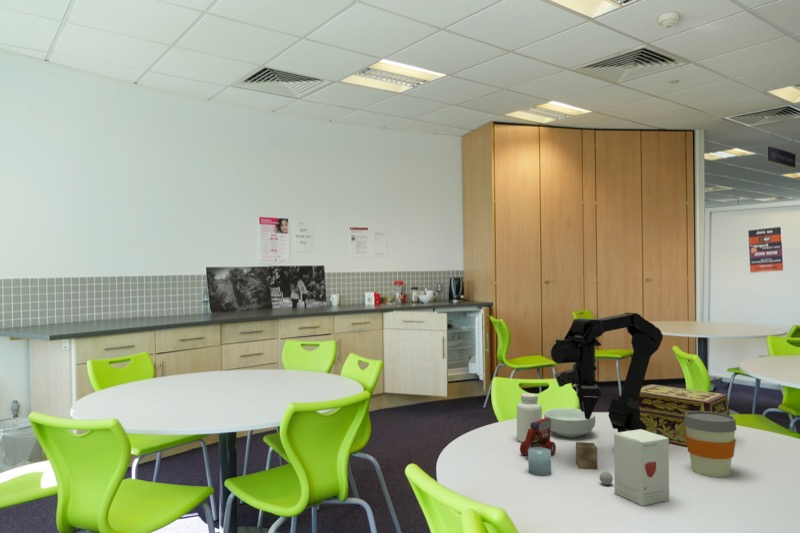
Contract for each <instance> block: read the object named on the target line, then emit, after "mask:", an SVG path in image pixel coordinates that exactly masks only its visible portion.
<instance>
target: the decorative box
mask: <svg viewBox="0 0 800 533" xmlns="http://www.w3.org/2000/svg"><path fill="white" fill-rule="evenodd" d="M638 404H639V408H640V417H639V418H640V419H641V420H642V422H643V423H644V424H645V425H646V426H647V428H646V431H648V432H651V433H654V434H658V435H661V436H664V437H667V438H669V444H670V445H674V446H679V447H683V448H687V442H686V436H685V434H686V433H687V432H686V426H685V425H684V419H685V413H686V412H690V411H710V412H718V413H723V414H727V415H730V408H729V400H728V394H725V393H719V392H712V391H711V392H710V391H703V390H697V389H688V388H683V387H682V388H681V387H674V386H667V385H666V386H665V385H660V384H659V385H658V384H652V383H651V384H647V385H644V386H643V385H642V388H641V391H640V395H639V398H638ZM730 416H731V415H730Z"/></svg>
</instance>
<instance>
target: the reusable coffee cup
mask: <svg viewBox="0 0 800 533" xmlns="http://www.w3.org/2000/svg"><path fill="white" fill-rule="evenodd" d="M684 425H685V426H686V432H687V433H686V434H685V436H686V442H687V447H686V449H687V452H688V453H689V457H690V463H691V469H692V471H693V472H694V473H696V474H700V475H702V476H706V477H710V478H711V477H712V478H725V477H729V475H730V474H731V465H732V458H734V455H735V448H736V447H735V446H736V441H737V440H736V438H735V434H736V431H737V424H736V418H735V416H733V415H727V414H723V413H718V412H710V411H690V412H686V413H685V419H684Z"/></svg>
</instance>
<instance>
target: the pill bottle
mask: <svg viewBox="0 0 800 533" xmlns="http://www.w3.org/2000/svg"><path fill="white" fill-rule="evenodd" d="M542 413H543V408H542V405H541V404H540V403H539V402H538V394H536V393H531V392H530V393H529V392H523V393H521V394H520V402H518V403H517V405H516V440H517V441H518V442H520V443H522V442H523V441H525V439H526V435H527V432H528V429H530V428H531V427H530V424H531V423H532V422H536V421H539V420H541V419H543V414H542Z"/></svg>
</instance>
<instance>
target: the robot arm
mask: <svg viewBox="0 0 800 533" xmlns="http://www.w3.org/2000/svg"><path fill="white" fill-rule="evenodd" d="M625 328H626V331H627V333H628V334H629V335H630V336H631V347H632V350H633V353H632V356H631V359H630V363H629V367H628V370H627V373H626V377H625V380H624V384H623V387H622V391H621V394H620V395H619V396H618V397H617V398H612V399H611V400H610V405H609V408H608V410H607V411H608V419H609V421H610V423H611V427H612V429H616V430H617V433H618V432H625V431H632V430H639V429H642V430H645V431H646V428H647V426H646V425H645V424H644V423H643V422H642V420H641V419H640V418H639V417H640V408H639V404H638V398H639V395H640V391H641V388H642V387H643V384H644V380H645V377H646V372H647V370H648V366H649V363H650V359H651V357H652V355H654V354H655V353H656V352H657V351H658V350H659V348H660V346H661V343H662V341H663V338H664V335H663V333H662V331H661V330H660V328H659V327H657V326H656V325H654V323H651V322H650V321H648V320H647V319H645V318H644V317H643V316H642V315H641V314H639V313H637V312H624V313H621V314H617V315H611V316H606V317H601V318H579V317H578V318H575V319H573V320H572V324H571V326H570V327H569V329H568V331H567V332H566V334H565V336H564V338H563V339H556V340H555V343H553V345H552V347H551V350H550V355H551V359H552V362H554V363H555V364H559V365H560V364H571V363H572V364H573V365H572V368H570V369H567V370H563V371H560V372H558V373H555V374H554V377H555V379H556V382H557V386H558V387H559V388H562V387H564V386H565V385H569V384H570V385H571V388H572V390H574V391H575V393H576V396H577V398H578V399H577V400H578V402H579V407H580V408H579V409H581V411H582V412H584V415H585V419H590V416H591V414H592V413H594V410H595V408H596V405H597V404H598V401H599V400H600V399H601V397H602V390H601V388H600V387H599V386H598V385H597V380H596V371H597V366H596V347H600V346H602V343H601V342H600V341H598V339H597V338H599V337H601V336H602V335H603V334H604V333H606V332H611V331H615V330H621V329H625Z"/></svg>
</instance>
